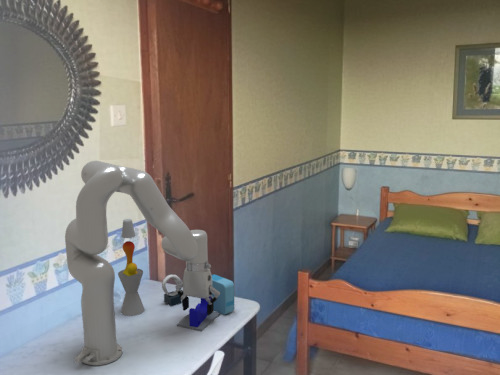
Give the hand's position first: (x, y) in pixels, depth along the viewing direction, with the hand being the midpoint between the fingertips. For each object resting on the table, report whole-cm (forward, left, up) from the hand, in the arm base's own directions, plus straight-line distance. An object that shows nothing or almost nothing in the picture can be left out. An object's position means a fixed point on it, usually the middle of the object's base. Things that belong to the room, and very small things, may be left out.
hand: (197, 311), depth 178 cm
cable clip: (0, 0, -3) cm, 3 cm away
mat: (0, 0, -3) cm, 3 cm away
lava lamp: (-2, +26, -4) cm, 27 cm away
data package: (+11, -3, -4) cm, 12 cm away
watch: (+10, +16, -4) cm, 19 cm away
